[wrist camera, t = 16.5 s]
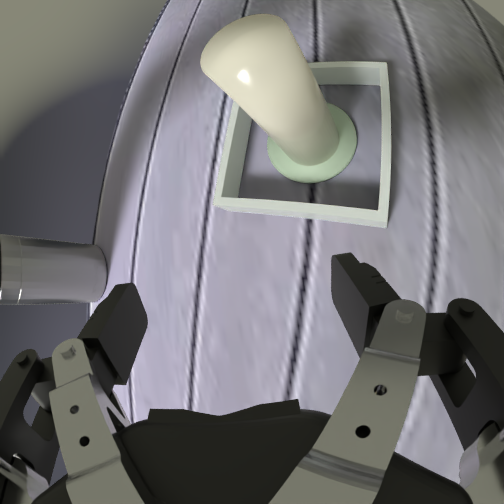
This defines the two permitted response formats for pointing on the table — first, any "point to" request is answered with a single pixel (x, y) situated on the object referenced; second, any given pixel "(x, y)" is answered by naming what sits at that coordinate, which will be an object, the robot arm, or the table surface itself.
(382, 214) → the square picture frame
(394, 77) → the table surface
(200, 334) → the table surface
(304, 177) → the pad
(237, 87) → the canister
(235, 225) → the table surface
